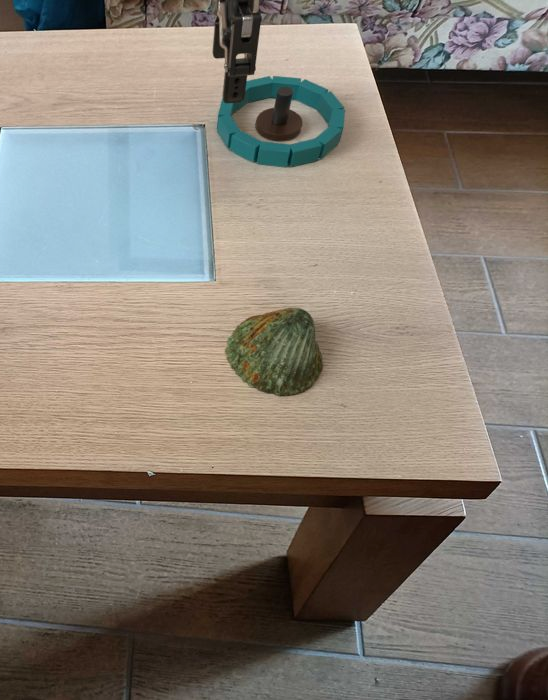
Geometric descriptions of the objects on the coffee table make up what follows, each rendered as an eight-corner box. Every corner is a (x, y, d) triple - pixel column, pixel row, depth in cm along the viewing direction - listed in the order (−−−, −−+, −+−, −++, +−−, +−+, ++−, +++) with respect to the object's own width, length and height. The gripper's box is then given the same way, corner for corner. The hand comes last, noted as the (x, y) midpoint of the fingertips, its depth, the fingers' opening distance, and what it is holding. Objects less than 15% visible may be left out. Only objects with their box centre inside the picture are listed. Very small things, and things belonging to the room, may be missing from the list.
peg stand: (296, 112, 92) (304, 75, 88) (304, 140, 89) (313, 103, 84) (252, 114, 92) (258, 78, 88) (258, 142, 89) (265, 106, 84)
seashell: (212, 329, 67) (278, 276, 70) (206, 351, 70) (269, 299, 74) (291, 396, 63) (357, 336, 66) (281, 415, 66) (344, 358, 70)
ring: (307, 82, 96) (310, 66, 94) (362, 150, 87) (367, 134, 85) (200, 106, 94) (202, 90, 92) (245, 178, 85) (247, 162, 83)
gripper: (302, -53, 56) (273, 114, 69) (272, -121, 65) (251, 39, 78) (212, -44, 57) (200, 120, 70) (193, -114, 65) (186, 45, 78)
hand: (227, 77), depth 74 cm, fingers open, 8 cm apart
